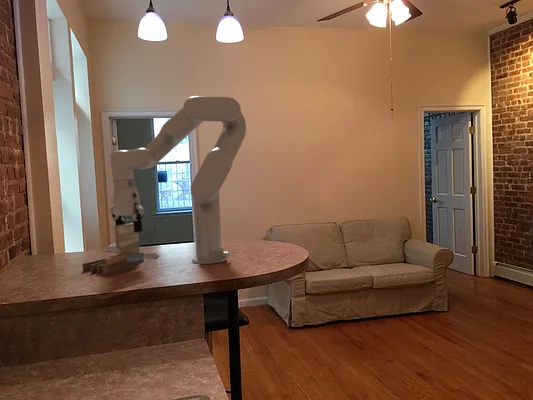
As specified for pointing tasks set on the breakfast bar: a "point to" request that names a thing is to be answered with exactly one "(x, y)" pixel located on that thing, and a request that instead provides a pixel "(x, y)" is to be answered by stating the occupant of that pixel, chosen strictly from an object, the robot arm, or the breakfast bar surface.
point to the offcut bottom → (104, 270)
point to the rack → (96, 267)
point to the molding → (146, 255)
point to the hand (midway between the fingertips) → (129, 231)
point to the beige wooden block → (126, 239)
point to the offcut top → (114, 260)
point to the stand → (136, 258)
